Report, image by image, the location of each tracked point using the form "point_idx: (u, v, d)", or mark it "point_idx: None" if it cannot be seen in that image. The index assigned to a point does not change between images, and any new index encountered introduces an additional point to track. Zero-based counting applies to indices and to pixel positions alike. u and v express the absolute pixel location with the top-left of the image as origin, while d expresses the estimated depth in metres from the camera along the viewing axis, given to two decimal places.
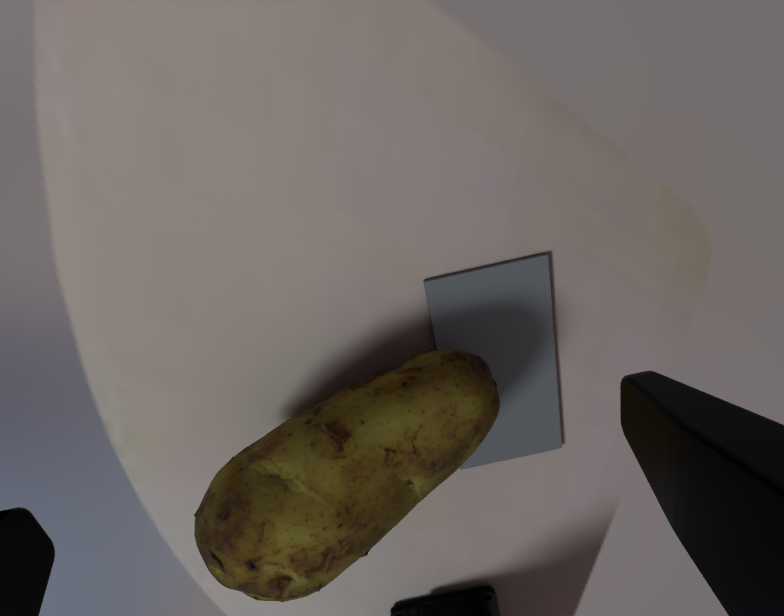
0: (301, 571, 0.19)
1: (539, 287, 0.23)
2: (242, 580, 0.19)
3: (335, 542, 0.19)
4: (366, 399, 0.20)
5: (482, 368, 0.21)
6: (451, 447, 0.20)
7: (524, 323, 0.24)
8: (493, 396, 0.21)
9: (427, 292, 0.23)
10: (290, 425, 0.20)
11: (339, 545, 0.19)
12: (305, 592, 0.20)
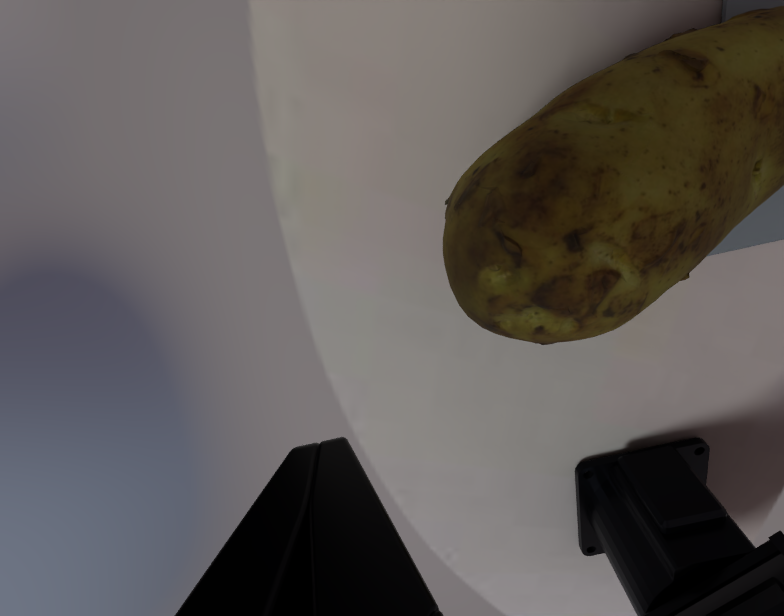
0: (639, 259, 0.13)
1: None
2: (551, 273, 0.13)
3: (693, 214, 0.13)
4: (709, 31, 0.14)
5: None
6: None
7: None
8: None
9: None
10: (596, 73, 0.14)
11: (695, 222, 0.13)
12: (626, 308, 0.13)
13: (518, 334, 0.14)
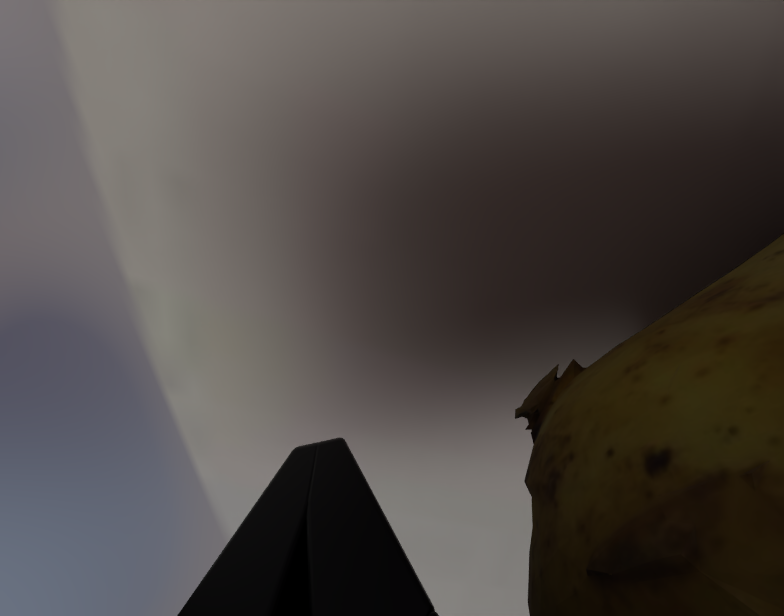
0: None
1: None
2: None
3: None
4: None
5: None
6: None
7: None
8: None
9: None
10: None
11: None
12: None
13: None
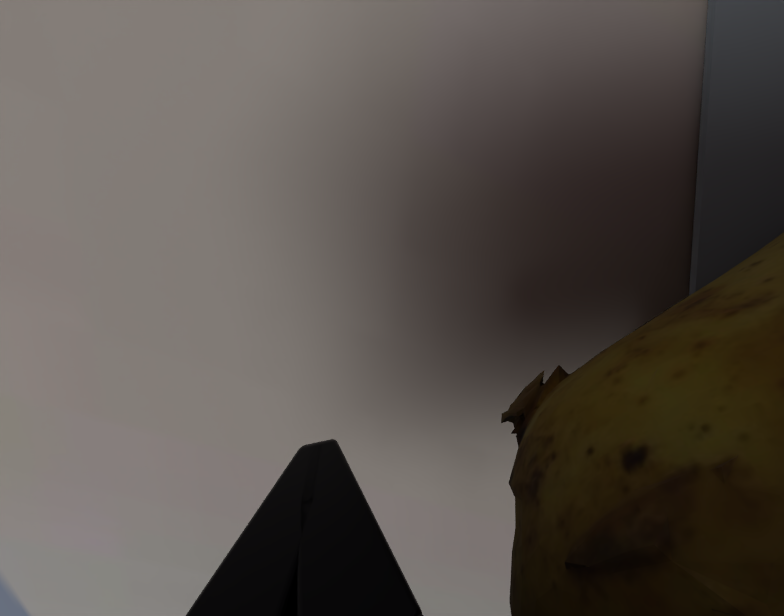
0: None
1: None
2: None
3: None
4: None
5: None
6: None
7: None
8: None
9: (718, 14, 0.08)
10: None
11: None
12: None
13: None
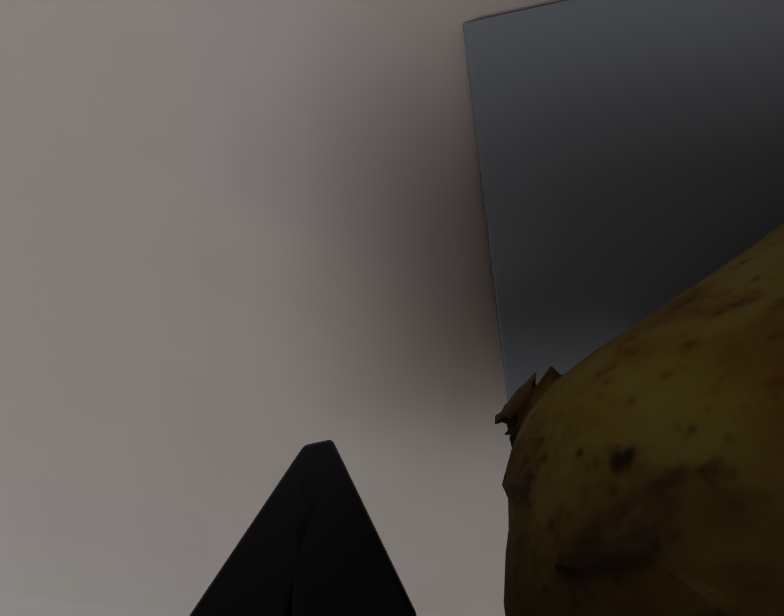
0: None
1: (780, 60, 0.08)
2: None
3: None
4: None
5: None
6: None
7: (722, 172, 0.09)
8: None
9: (473, 59, 0.08)
10: None
11: None
12: None
13: None
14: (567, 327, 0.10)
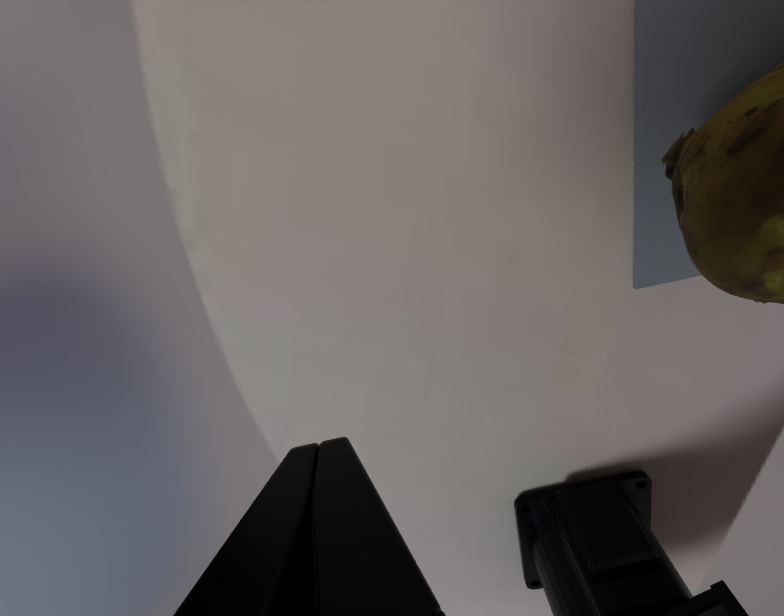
0: None
1: None
2: None
3: None
4: None
5: None
6: None
7: (762, 45, 0.17)
8: None
9: None
10: None
11: None
12: None
13: None
14: (673, 141, 0.18)
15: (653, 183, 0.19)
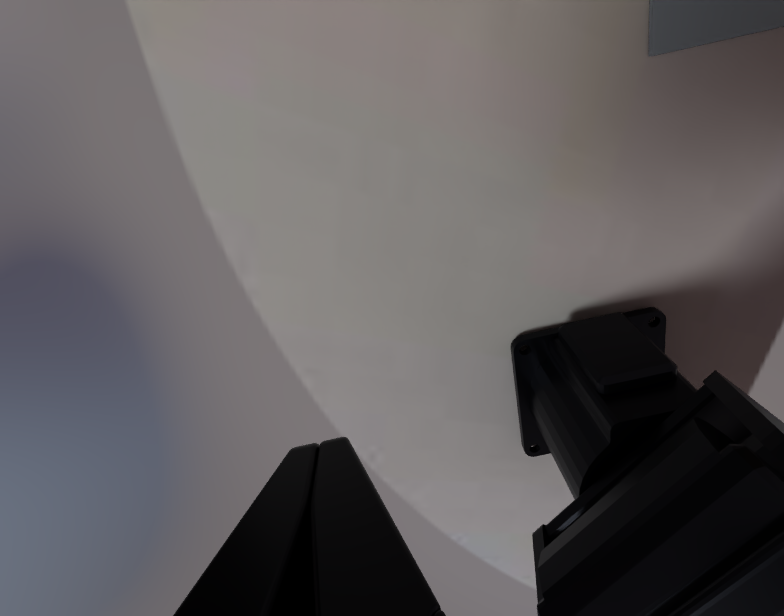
0: None
1: None
2: None
3: None
4: None
5: None
6: None
7: None
8: None
9: None
10: None
11: None
12: None
13: None
14: None
15: None
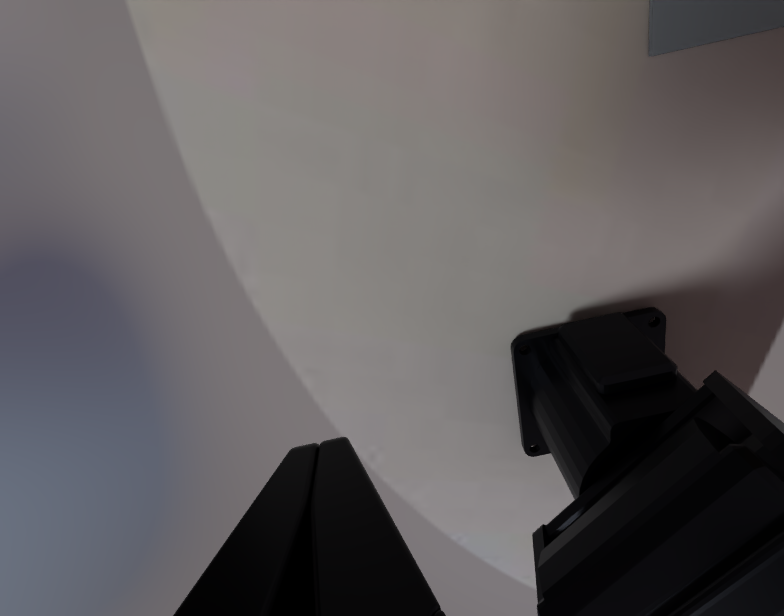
0: None
1: None
2: None
3: None
4: None
5: None
6: None
7: None
8: None
9: None
10: None
11: None
12: None
13: None
14: None
15: None
